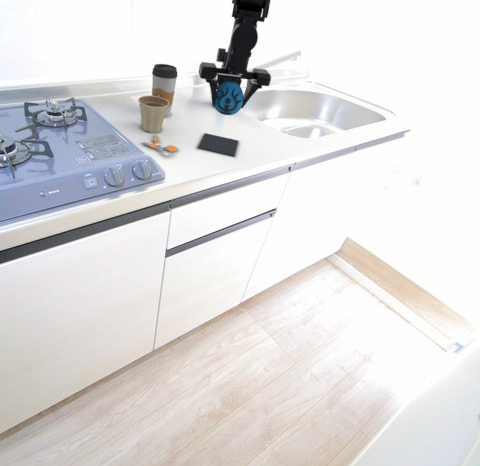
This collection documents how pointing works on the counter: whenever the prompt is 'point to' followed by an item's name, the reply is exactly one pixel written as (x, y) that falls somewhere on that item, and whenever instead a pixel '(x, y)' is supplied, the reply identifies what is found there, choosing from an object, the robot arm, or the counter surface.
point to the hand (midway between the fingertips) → (227, 106)
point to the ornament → (229, 98)
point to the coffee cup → (164, 83)
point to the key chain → (169, 148)
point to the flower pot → (152, 112)
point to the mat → (218, 144)
